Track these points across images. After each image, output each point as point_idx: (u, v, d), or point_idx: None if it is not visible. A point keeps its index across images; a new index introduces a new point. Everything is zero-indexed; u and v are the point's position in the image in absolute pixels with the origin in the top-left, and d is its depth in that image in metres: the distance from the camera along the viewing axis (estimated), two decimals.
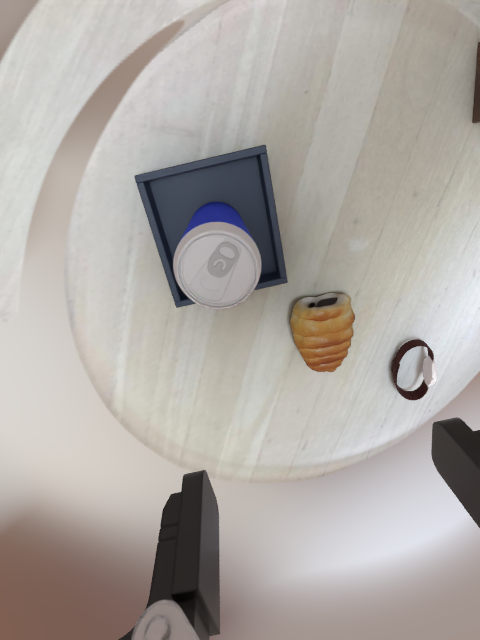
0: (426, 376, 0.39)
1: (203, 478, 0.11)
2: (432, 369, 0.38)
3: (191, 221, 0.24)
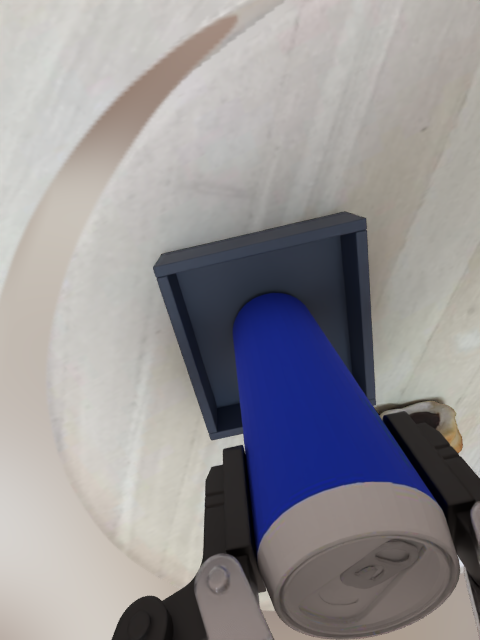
0: None
1: (242, 452, 0.11)
2: None
3: (260, 374, 0.13)
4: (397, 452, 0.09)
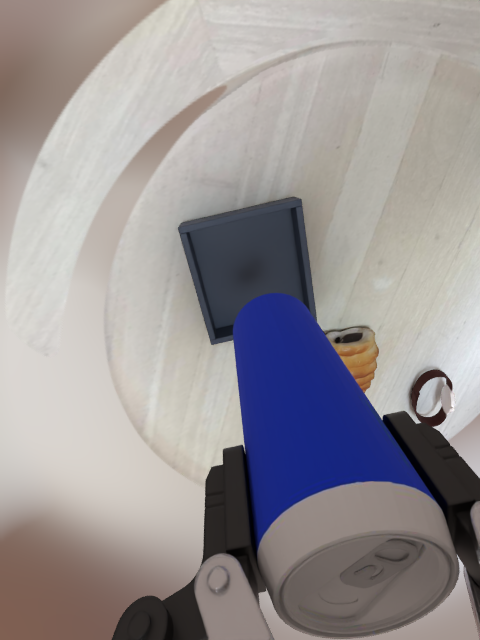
0: (445, 404, 0.41)
1: (242, 451, 0.11)
2: (451, 398, 0.39)
3: (260, 374, 0.13)
4: (397, 452, 0.09)
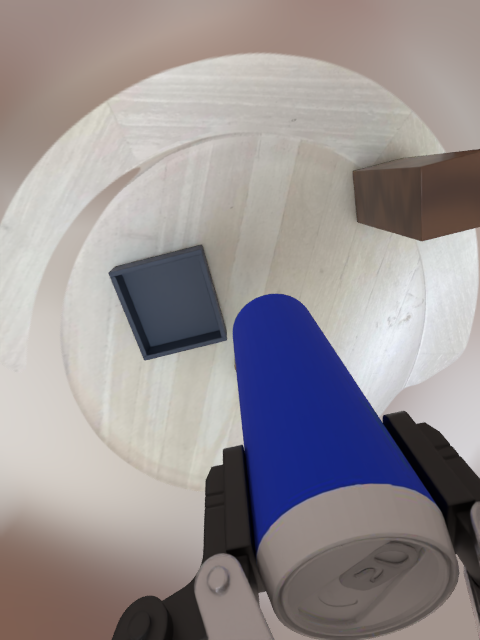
0: None
1: (242, 451, 0.11)
2: None
3: (259, 375, 0.13)
4: (396, 454, 0.09)
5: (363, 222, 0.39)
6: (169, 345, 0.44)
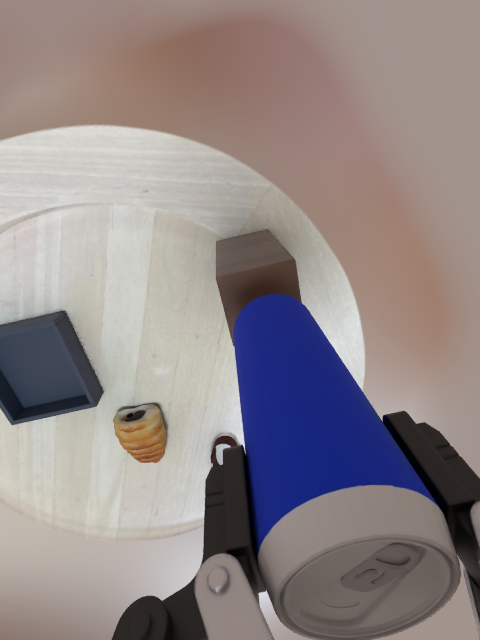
0: None
1: (242, 451, 0.11)
2: None
3: (260, 376, 0.13)
4: (398, 455, 0.09)
5: None
6: (40, 408, 0.43)
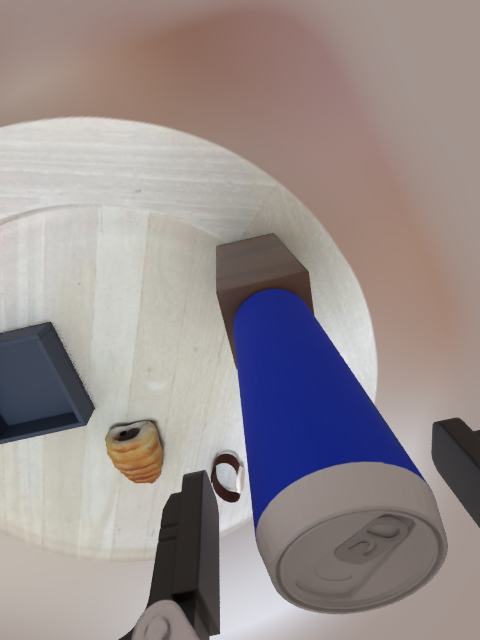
0: None
1: (203, 478, 0.11)
2: (236, 482, 0.44)
3: (259, 365, 0.14)
4: (389, 436, 0.10)
5: None
6: (26, 426, 0.40)
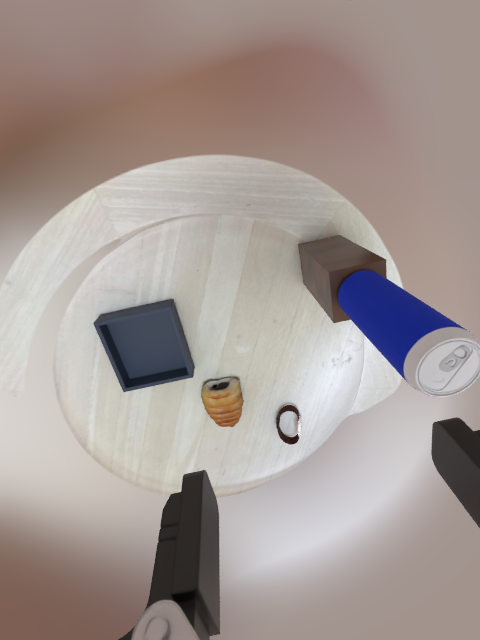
0: None
1: (203, 478, 0.11)
2: (298, 426, 0.57)
3: (381, 304, 0.27)
4: (458, 325, 0.23)
5: (306, 286, 0.47)
6: (145, 379, 0.53)
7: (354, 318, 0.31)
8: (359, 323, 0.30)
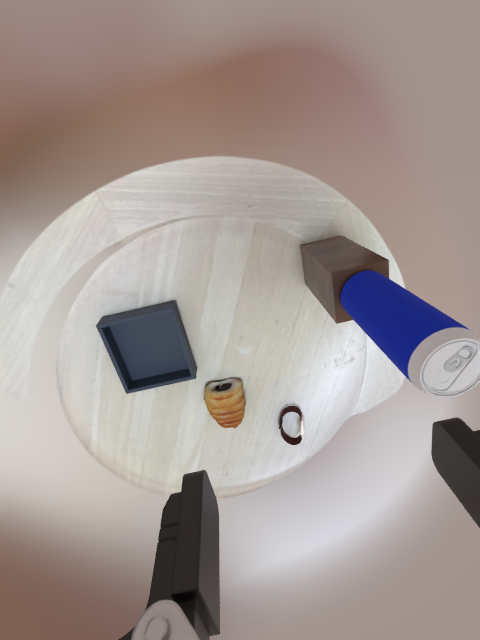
0: None
1: (203, 478, 0.11)
2: (301, 426, 0.57)
3: (384, 305, 0.27)
4: (462, 325, 0.23)
5: (308, 287, 0.47)
6: (148, 380, 0.53)
7: (357, 319, 0.31)
8: (362, 324, 0.30)
